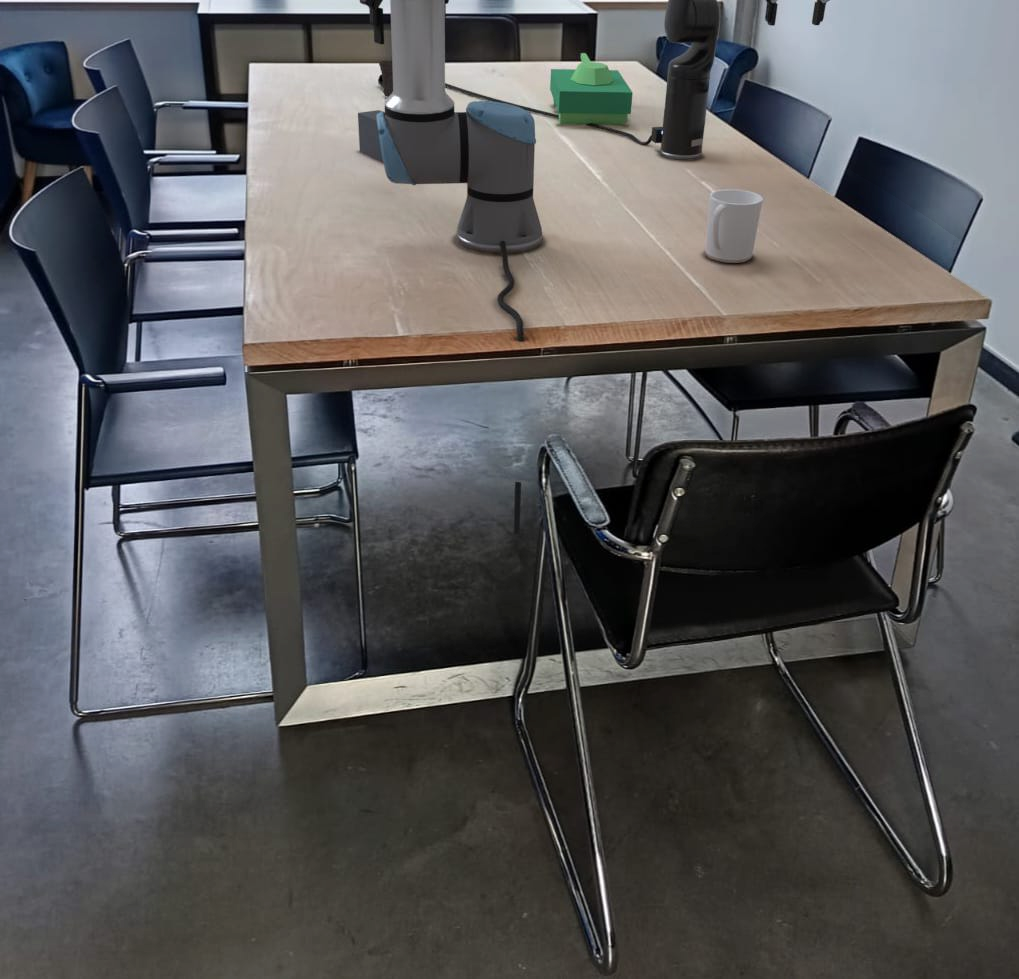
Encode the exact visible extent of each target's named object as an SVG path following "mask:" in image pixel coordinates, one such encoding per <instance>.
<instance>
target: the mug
mask: <svg viewBox="0 0 1019 979" xmlns="http://www.w3.org/2000/svg"><path fill="white" fill-rule="evenodd" d="M708 197H709V198H708V208H707V209H708V210H707V223H706V224H707V225H706V238H705V255H706V257H708V258H709V259H711V260H714V261H716V262H719V263H720V262H721V263H728V264H738V263H745V262H748V261H750V260H751V259H752V257H753V253H754V248H755V242H756V237H757V231H758V227H759V222H760V216H761V210H762V206H763V200H764V199H763V196H762V195H760V194H759V193H756V192H753V191H750V190H744V189H736V188H735V189H734V188H725V189H717V190H713V191H711V192H710V193H709V196H708Z"/></svg>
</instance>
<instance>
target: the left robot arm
mask: <svg viewBox="0 0 1019 979" xmlns="http://www.w3.org/2000/svg"><path fill="white" fill-rule="evenodd" d="M383 1H384V0H359V3H360V4H361V5H363V6H367V7H368V10H369V24H370V26H373V42H374V44H378V45H385V28H384V27H385V26H384V25H385V24H384V8H382V7H380V6H381V4H382V3H383ZM389 2H390V4H389V5H390V32H391V34H390V37H391V61H392V67H393V92H392V94H391V95H390V96H389V97H387V98H385V100H384V111H383V112H380V113H378V114H377V116H376V118H377V126H378V131H379V138H380V145H381V151H382V157H383V162H384V163H383V162H382V163H383V166H384V167H383V168H384V172H385V175H386V178H387V179H388V180H389V181H390V182H391V183H392V184H397V185H399V184H400V185H412V186H416V185H440V184H441V185H443V184H444V185H447V184H466V192H467V193H466V198H465V202H464V205H463V209H462V211H461V214H460V218H459V220H458V224H457V228H456V241H457V243H458V244H459V245H461V246H462V247H464V248H466V249H468V250H470V251H475V252H479V253H486V254H497V255H499V254H500V255H501V262H502V269H503V272H504V275H505V276H506V278H507V280H508V281H507V282H508V283H507V286H506V287H504V288H503V289H502V290H501V291H500V292H499V294H498V295H497V303H498V306H500V308H501V309H503V311H505V312H506V313H508V314H509V315H510V316H511V317H512V318H513V319H514V321H515V323H516V339H517V342H521V343H522V342H524V341H525V336H524V320H523V319H522V317H521V314H520V313H518V311H517V310H516V309H514V308H513V307H512V306H510V305H509V304H508V303H506V301H505V300H504V299H505V297H506V296H507V295H508V294H509V293H510V292H512V290H513V289H514V287H515V278H514V275H513V274H512V272H511V270H510V265H509V257H508V254H517V253H524V252H527V251H530V250H533V249H536V248H538V247H539V246H540V245H541V244H542V243H543V229H542V224H541V221H540V220H541V219H540V218H539V214H538V213H539V212H538V210H537V206H536V204H535V199H534V183H535V181H534V180H535V148H536V147H535V146H536V144H537V139H536V123H535V118H534V116H533V115H532V113H530V111H527V110H524V109H522V108H520V107H517V106H514V105H510V104H505V103H500V102H493V101H490V100H478V101H477V100H473V101H470V102H469V103H468V104H467V106H466V108H465V111H455V101H454V100H453V99H452V98H451V97H450V95H448V93H447V92H446V86H445V83H446V34H445V33H446V30H445V29H446V28H445V26H446V24H445V22H446V18H447V12H446V11H447V8H446V7H447V6H446V5H447V4H449V2H450V0H389ZM521 501H522V482H520V481H515V482H514V505H513V507H514V510H513V516H514V517H513V534H515V535H519V534H520V533H521V505H522V504H521V503H522V502H521Z"/></svg>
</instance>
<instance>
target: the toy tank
mask: <svg viewBox="0 0 1019 979" xmlns="http://www.w3.org/2000/svg"><path fill="white" fill-rule="evenodd" d="M580 60H581V62H580V63H579V64H577V67H576V69H573V68H572V69H570V68H567V69H566V68H565V69H564V68H550V83H549V84H550V85H549V91H550V93H551V95H552V100H553V107H556V111H557V112H558V115H559V118H558V124H559V125H565V126H567V125H570V126H571V125H572V126H574V125H575V126H587V125H586V124H589V123H593V124H597V125H600V126H626V125H627V122H628V115H631V114H632V104H633V91H632V89H631V88H630V86H629V84H628V83H627V82H626V80H625V78H624V77H623V75H622V74H621V73H620V71H619V70H618V69H617V70H615V69H610V68H609V67H608V66H609V65H607V64H605V63H602V62H595V61H591V59H590V58H589V55H587V53H585V52H582V53H581V52H580Z"/></svg>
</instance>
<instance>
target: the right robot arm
mask: <svg viewBox="0 0 1019 979" xmlns="http://www.w3.org/2000/svg"><path fill="white" fill-rule="evenodd" d="M765 2H766V8H765V16H764V20H765V22H766V23H767V25H768V26H775V25H776V19H777V14H778V13H777V12H778V5H779V4H778V3H777V2H778V0H765ZM828 2H830V0H816V1H815V2H814V6H813V12H812V19H811V24H812V25H813V26H820V24H821V23H822V22H823V21H824V19H825V12H826V6H827V3H828ZM665 8H666V9H665V14H664V33H665V37H666V39H667V40H668V41H669V42H670V43H672V44H690V46H689V48H688V49H687V50H686V51H685V52H684V53H682V54H681V55H679V56H677V57H675V58H673V59H671V60H670V61H669V63H668V68H667V79H666V89H665V98H664V99H665V101H664V109H663V119H662V126H652V127H651V135H650V136H649V137H648V139H647V141H641V140H639V139H638V138H637V137H636V136H635V135H633V134H632V133H629V132H626V131H623V130H620V129H615V128H613V127H612V128H611V127H607V126H605V125H597V124H593V123H589V124H586V125H585V126H587V127H591V128H594V129H598V130H602V131H606V132H609V133H613V134H617V135H621V136H624V137H628V138H630V139H631V140H632V141H633V142H635V143H637V144H639V145H641V146H649V145H650V144H651V143H654V144H660V150H659V154H660V156H662V157H663V158H667V159H672V160H679V161H691V160H697V159H700V158H701V157H702V156H703V144H704V135H705V125H706V116H707V108H708V98H709V88H710V81H711V71H712V67H713V66H714V63H715V57H716V52H717V43H718V38H719V33H720V25H721V8H720V5H719V2H718V0H667V4H666V7H665ZM445 88H449V89H452V90H454V91H457V92H461V93H463V94H467V95H471V96H473V97H477V98H479V99H483V100H485V101H492V102H500V103H505V104H510V105H514V106H517V107H520V108H522V109H524V110H526V111H528V112H531V113H535V114H539V115H543V116H547V117H552V118H556V119H559V114H557V113H553V112H548V111H544V110H541V109H536V108H533V107H528V106H524V105H521V104H516V103H514V102H513V103H512V102H509V101H506V100H500V99H498V98H494V97H491V96H487V95H484V94H480V93H477V92H473V91H470V90H467V89H465V88H461V87H458V86H455V85H453V84H449V83H447V82H445Z"/></svg>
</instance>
